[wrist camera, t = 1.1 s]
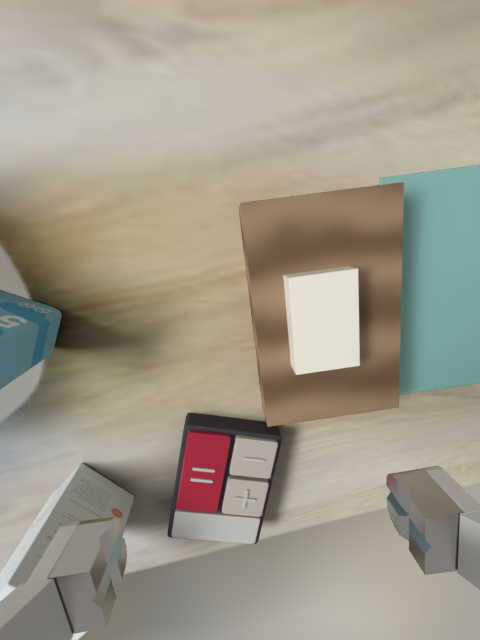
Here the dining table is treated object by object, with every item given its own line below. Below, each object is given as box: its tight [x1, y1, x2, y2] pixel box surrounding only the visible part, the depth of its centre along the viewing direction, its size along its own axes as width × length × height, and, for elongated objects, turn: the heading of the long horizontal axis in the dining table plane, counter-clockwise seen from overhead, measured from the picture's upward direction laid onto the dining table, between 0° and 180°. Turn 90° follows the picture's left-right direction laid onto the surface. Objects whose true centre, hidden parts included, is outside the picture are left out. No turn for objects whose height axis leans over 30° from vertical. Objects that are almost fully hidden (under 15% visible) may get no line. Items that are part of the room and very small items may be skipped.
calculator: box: [168, 413, 282, 544], centre depth 35 cm, size 11×4×15 cm
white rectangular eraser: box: [283, 266, 360, 375], centre depth 27 cm, size 9×6×2 cm, turn 7°
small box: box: [0, 463, 135, 640], centre depth 30 cm, size 8×6×13 cm
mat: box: [380, 165, 480, 395], centre depth 32 cm, size 24×13×1 cm, turn 7°
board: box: [239, 182, 404, 427], centre depth 30 cm, size 22×14×4 cm, turn 7°
